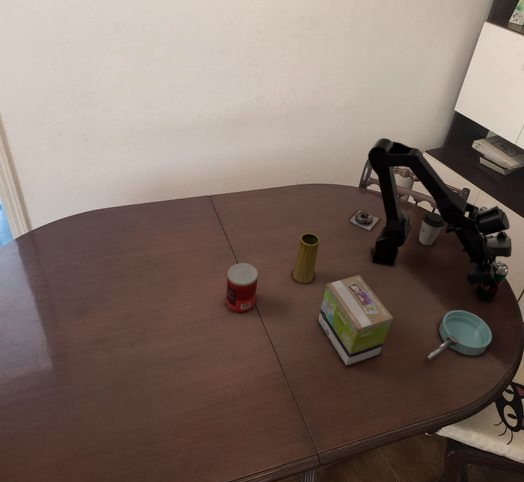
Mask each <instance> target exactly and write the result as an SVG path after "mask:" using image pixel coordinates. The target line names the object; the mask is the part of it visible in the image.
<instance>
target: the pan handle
mask: <svg viewBox="0 0 524 482" xmlns="http://www.w3.org/2000/svg"><path fill="white" fill-rule="evenodd" d="M457 342H458V340H457V339H456V338H455V337H453V336H452V335H451V334H450V335H449V336H448V337H447V339H446V341H443V342H442V343H441V344H440V345H439V346H437V347H436V348H434V349H433V350H432V351H430V352H429V353H428V354H427V355H426V356H425V359H426V361H428V362H429V361H433V360H434V359H435V358H436V357H437V356H438V355H440V354H441V353H443V352H444V351H445V350H446V349H448V348H450V345H452V346H455V345H456V344H457Z"/></svg>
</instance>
